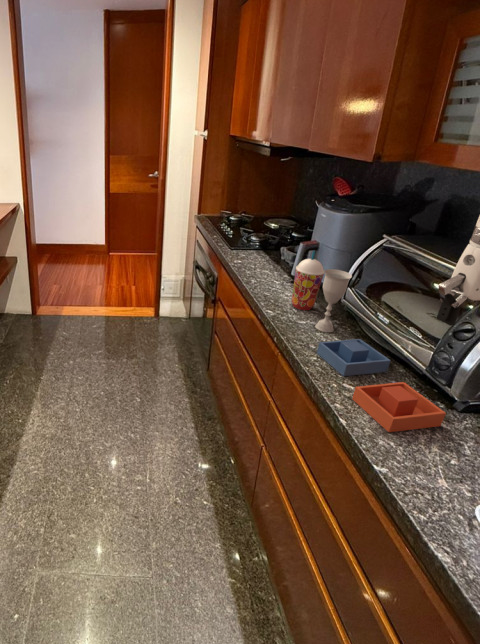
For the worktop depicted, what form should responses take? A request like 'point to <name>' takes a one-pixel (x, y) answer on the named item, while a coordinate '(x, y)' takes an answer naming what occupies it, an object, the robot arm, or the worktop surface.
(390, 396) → the terracotta block
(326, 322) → the chalice
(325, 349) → the blue bin
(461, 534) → the worktop surface
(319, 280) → the smoothie
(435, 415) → the terracotta bin
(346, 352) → the blue cubic block piece
